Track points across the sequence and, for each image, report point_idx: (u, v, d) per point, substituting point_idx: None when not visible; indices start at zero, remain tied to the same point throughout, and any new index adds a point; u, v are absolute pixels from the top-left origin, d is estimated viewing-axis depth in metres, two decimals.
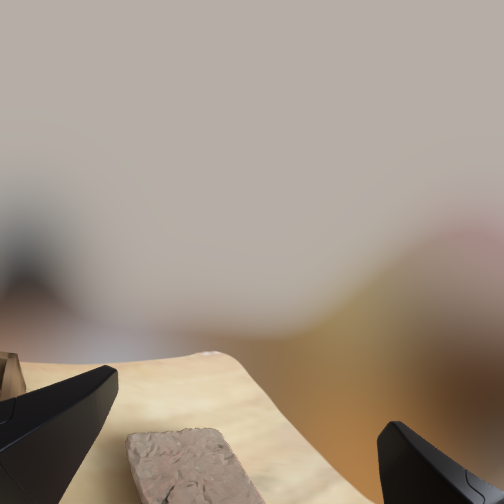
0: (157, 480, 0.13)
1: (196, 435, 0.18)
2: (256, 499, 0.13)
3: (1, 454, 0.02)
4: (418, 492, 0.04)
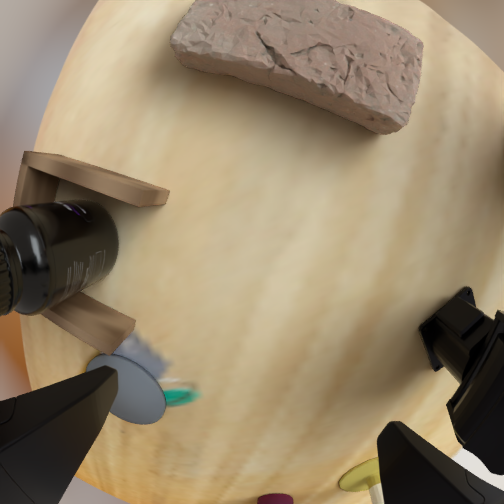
0: (241, 39, 0.13)
1: None
2: None
3: (1, 454, 0.02)
4: (418, 492, 0.04)
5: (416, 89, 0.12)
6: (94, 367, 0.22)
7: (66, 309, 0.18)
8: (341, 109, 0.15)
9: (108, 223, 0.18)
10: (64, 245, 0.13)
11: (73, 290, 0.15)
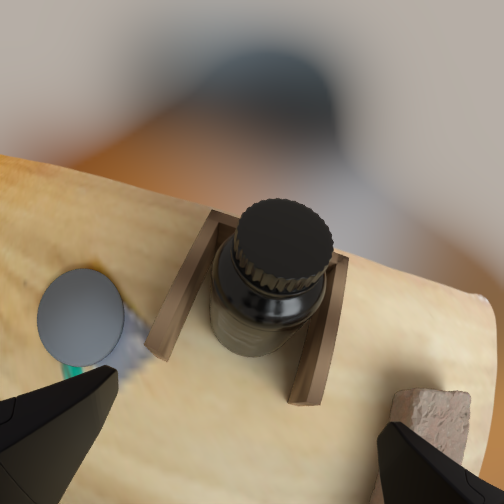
0: None
1: (460, 400, 0.16)
2: None
3: (1, 454, 0.02)
4: (418, 492, 0.04)
5: None
6: (107, 289, 0.21)
7: (188, 291, 0.20)
8: None
9: (273, 351, 0.20)
10: (284, 334, 0.15)
11: (227, 327, 0.16)
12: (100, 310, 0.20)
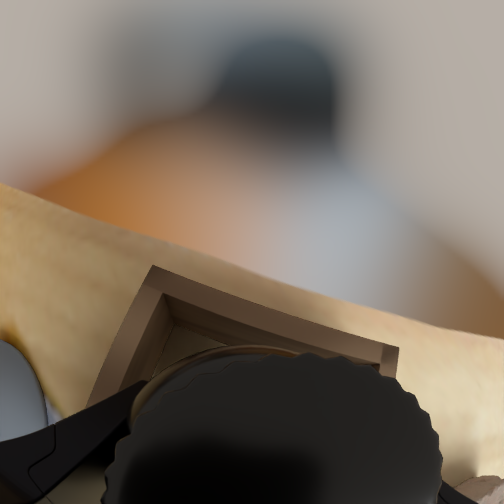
0: None
1: (497, 495, 0.06)
2: None
3: (52, 492, 0.02)
4: None
5: None
6: (23, 375, 0.10)
7: None
8: None
9: None
10: None
11: None
12: (17, 404, 0.09)
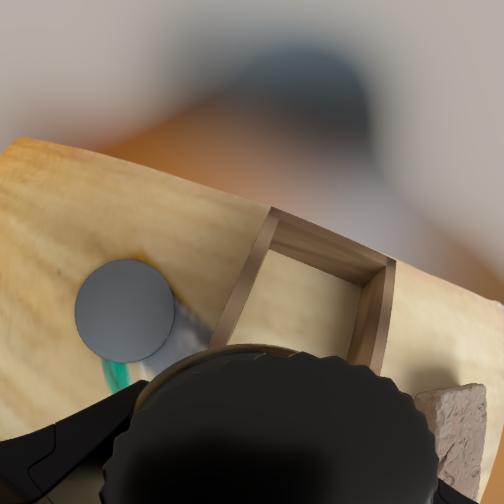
0: (448, 439, 0.14)
1: (476, 393, 0.16)
2: (481, 453, 0.13)
3: (52, 492, 0.02)
4: None
5: None
6: (157, 282, 0.22)
7: (251, 286, 0.20)
8: None
9: None
10: None
11: None
12: (149, 304, 0.21)
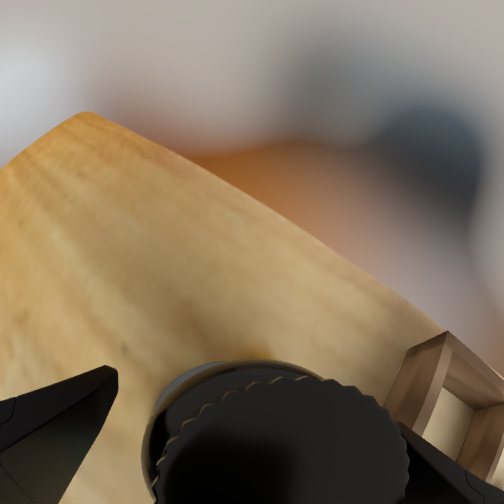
0: None
1: None
2: None
3: (1, 454, 0.02)
4: (418, 492, 0.04)
5: None
6: None
7: None
8: None
9: None
10: None
11: None
12: None
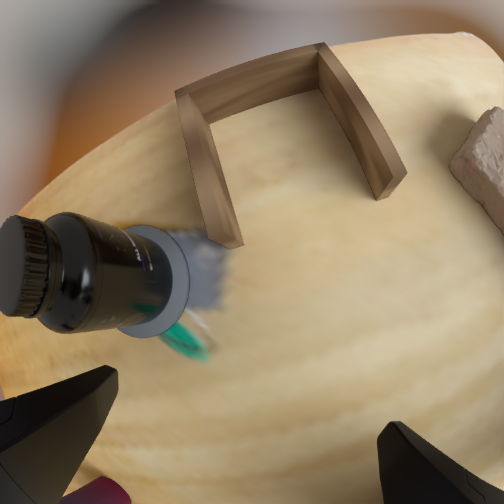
0: None
1: (499, 120, 0.12)
2: None
3: (1, 454, 0.02)
4: (418, 492, 0.04)
5: None
6: (144, 233, 0.21)
7: (210, 163, 0.17)
8: None
9: (166, 289, 0.18)
10: (112, 299, 0.13)
11: (96, 330, 0.14)
12: None
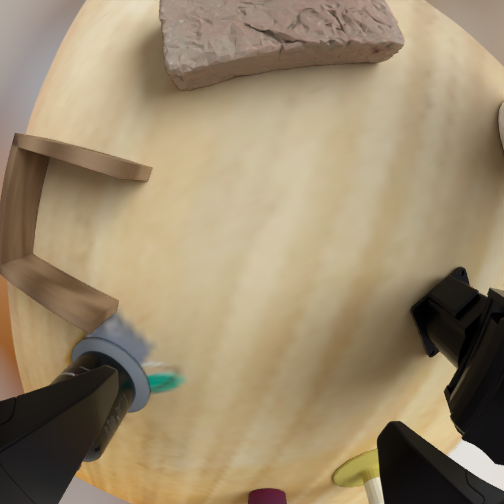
0: (237, 36, 0.13)
1: (171, 7, 0.12)
2: None
3: (1, 454, 0.02)
4: (418, 492, 0.04)
5: (390, 11, 0.11)
6: (79, 351, 0.21)
7: (50, 288, 0.17)
8: (349, 55, 0.14)
9: (117, 370, 0.20)
10: None
11: (114, 433, 0.16)
12: None
